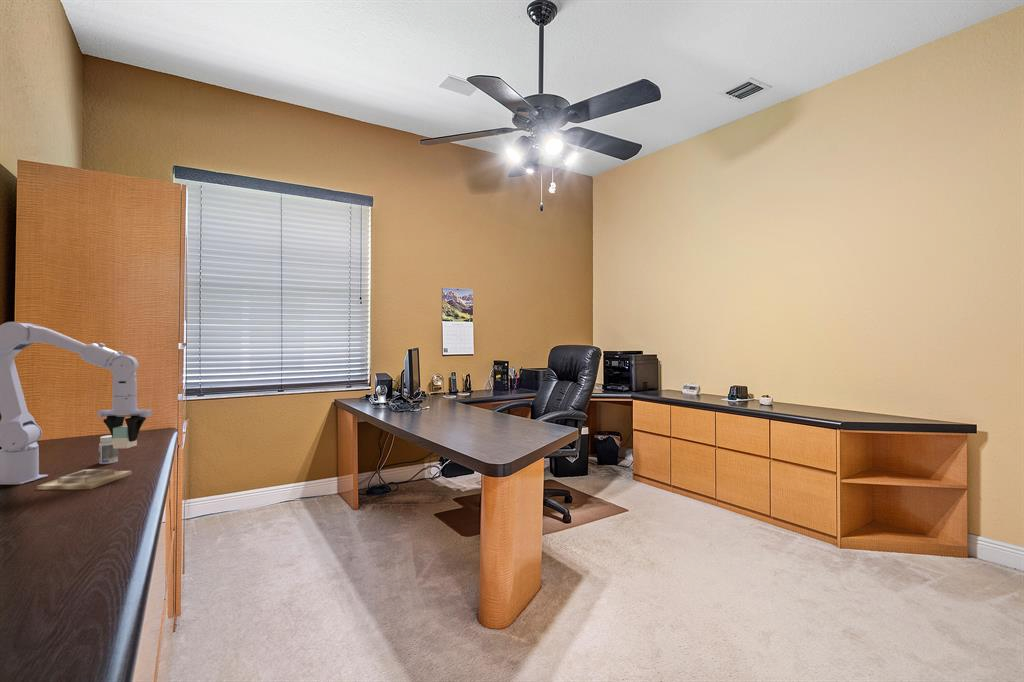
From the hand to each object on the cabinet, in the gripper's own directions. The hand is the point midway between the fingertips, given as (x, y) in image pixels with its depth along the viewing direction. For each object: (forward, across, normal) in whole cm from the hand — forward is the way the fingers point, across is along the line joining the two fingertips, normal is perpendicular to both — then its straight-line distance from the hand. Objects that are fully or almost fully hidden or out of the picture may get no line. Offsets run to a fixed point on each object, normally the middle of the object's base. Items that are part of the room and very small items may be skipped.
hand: (125, 441), depth 145 cm
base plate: (+9, -2, -11) cm, 14 cm away
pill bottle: (+9, -13, +10) cm, 19 cm away
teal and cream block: (+2, 0, 0) cm, 2 cm away
